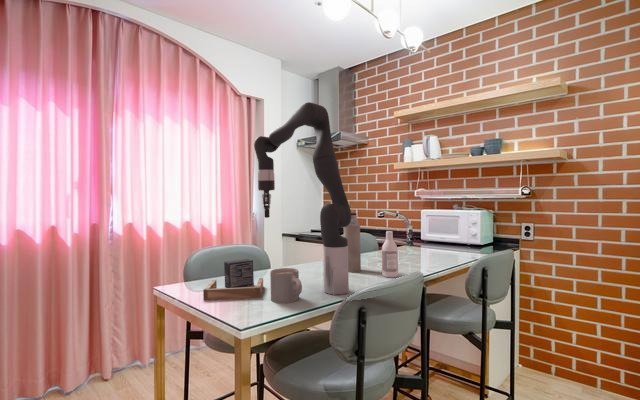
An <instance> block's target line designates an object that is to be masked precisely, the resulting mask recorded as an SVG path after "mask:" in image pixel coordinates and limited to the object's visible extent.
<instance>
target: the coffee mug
mask: <svg viewBox="0 0 640 400" xmlns="http://www.w3.org/2000/svg"><path fill="white" fill-rule="evenodd" d="M299 273H300V272H299V269H298V268H292V267H279V268H275V269H271V270H270V272H269V274H270V301H271V302H273V303H276V304H287V303H293V302H296V301H298V300H299V299H300V295H301V293H302V290H303V285H302V281H301V279H300V278H299V276H300V275H299Z"/></svg>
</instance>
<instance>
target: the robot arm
mask: <svg viewBox="0 0 640 400" xmlns="http://www.w3.org/2000/svg"><path fill="white" fill-rule="evenodd" d="M329 118H330V117H329V113H328V110H327V109H326V107H325V106H323V105H320V104H317V103H314V102H305V103H303V104H302V105H301V106H300V107H299V108H298V109H297V110H296V111H295V112H293V114H291V116H290V117H289V118H287V120H286V121H284V122H283V123H282V124H280V125H279V126H278V127H276V128H274V129H273V130H272V131H270V133H269V134H268V136H263V135H258V136H257V137H256V138H255V139H254V142H253V147H254V152H255V155H256V159H257V161H258V162H257V163H258V164H257V165H258V171H257V184H258V185H257V187H258V188H257V190H258V191H263V194H262V195H261V198H262V205H263V210H264V211H263V212H264V219H265V218H266V219H268V218H270V208H271V198H272V194H271V193H270V192H271V191H275V189H276V188H275V186H276V185H275V184H276V183H275V169H274V166H275V164H274V159H273V158H272V157H270V156H268V153H270V154H271V153H273V152H274V153H275V152H276V151H277V150H278V149H279V148H280V147H281V145H283V144H285V143H286V142H287V141H289V140H291V138H292V137H293V136H294V133H295V131H296V130H297V129H299V128H301V127H304V126H307V127H311V128H313V130H314V132H315V137H316V138H315V139H316V144H315V147H314V150H313V154H312V163H313V167H314V172H315V175H316V177H317V179H318V180H319V182H320V183H321V185H323V187H324V188H325V189H326V191H327V192H328V194H329V196H330V199H331V203H325V205H323V206H322V207H321V211H320V213H319V214H320V215H319V220H320V222H319V223H320V234H321V240H322V244H323V245H322V246H323V248H322V249H323V284H324V285H323V287H324V289H323V292H325V293H326V294H329V295H333V296H335V295H344V294H349V292H350V291H349V290H350V287H349V286H350V285H349V283H350V282H349V280H350V279H349V272H348V240H347V238H345V237H344V236H342V235H341V234H340V232H339V231H340V230H339V228H340V229H341V228H343V227H346V226H348V225H349V224H350V222H351V217H352V216H351V213H352V210H351V207H350V204H349V201H348V198H347V195H346V192H345V190H344V189H345V188H344V186H343V181H342V178H341V174H340V170H339V169H340V168H339V165H338V159H337V156H336V153H335V148H334V144H333V138H332V132H331V124H330V119H329Z"/></svg>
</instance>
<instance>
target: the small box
mask: <svg viewBox="0 0 640 400" xmlns="http://www.w3.org/2000/svg"><path fill="white" fill-rule="evenodd" d="M223 264H224V266H223V267H224V268H223V269H224V288H240V287H252V286H254V285H255V282H254V281H255V280H254V278H255V277H254V260H253V259H251V258H242V259H236V260H228V261H223Z"/></svg>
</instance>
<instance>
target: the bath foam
mask: <svg viewBox="0 0 640 400" xmlns="http://www.w3.org/2000/svg"><path fill="white" fill-rule="evenodd" d="M393 232H394V231H391V230H386V232H385V240H384V243H383V244H382V246H381V271H382V273H381V274H382V276H383V277H384V278H397V277H398V276H399V257H398V256H399V255H398V254H399V251H398V246H397V244H396V242H395V240H394V239H393V237H394V236H393V235H394V233H393Z"/></svg>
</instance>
